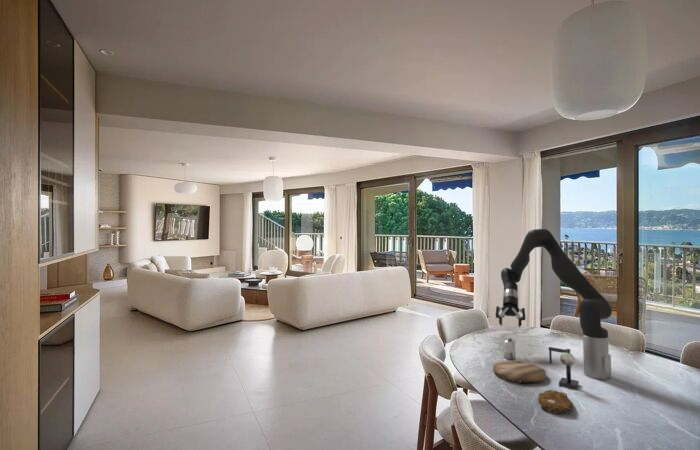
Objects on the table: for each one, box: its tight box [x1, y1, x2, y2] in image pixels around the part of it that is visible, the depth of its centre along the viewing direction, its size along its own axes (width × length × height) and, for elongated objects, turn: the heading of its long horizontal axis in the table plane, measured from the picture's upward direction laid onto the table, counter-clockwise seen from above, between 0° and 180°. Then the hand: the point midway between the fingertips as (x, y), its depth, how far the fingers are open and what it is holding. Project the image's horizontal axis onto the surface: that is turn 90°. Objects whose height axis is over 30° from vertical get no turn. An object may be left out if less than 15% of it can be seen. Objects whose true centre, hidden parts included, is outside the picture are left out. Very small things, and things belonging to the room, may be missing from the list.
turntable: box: [492, 360, 547, 383], centre depth 161 cm, size 21×21×2 cm
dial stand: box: [548, 346, 580, 390], centre depth 151 cm, size 10×6×14 cm, turn 49°
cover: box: [501, 337, 518, 361], centre depth 178 cm, size 7×7×11 cm
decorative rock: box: [537, 389, 575, 415], centre depth 133 cm, size 11×4×15 cm
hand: (510, 325), depth 188 cm, fingers open, 8 cm apart
